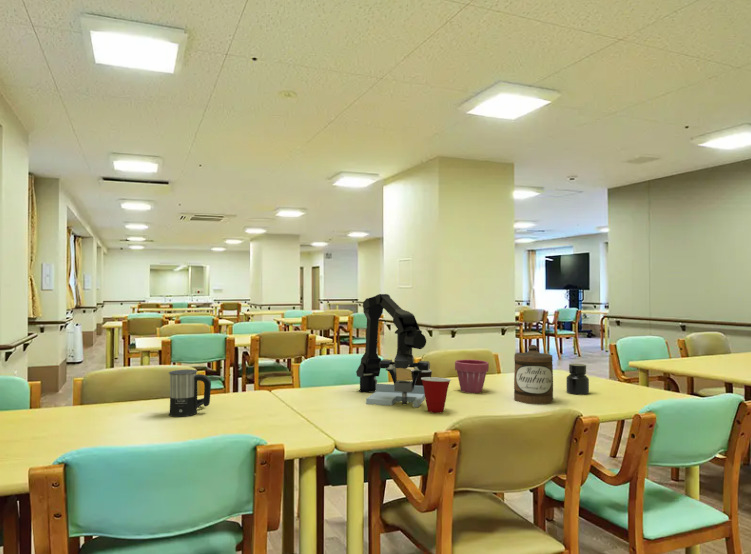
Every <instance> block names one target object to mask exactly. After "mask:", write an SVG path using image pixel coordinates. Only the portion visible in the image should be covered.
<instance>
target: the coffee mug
mask: <svg viewBox="0 0 751 554" xmlns="http://www.w3.org/2000/svg"><path fill="white" fill-rule="evenodd" d="M414 370H415V368H413V369H411V370H410V372H411V374H410V375H411V381H413V371H414ZM432 374H433V371H432V370H431V369H429V370H423V371H422V372H420V373H419V375H418V377H417V380H416V383H415V386H423V382H422V379H421V378H422V377H432Z"/></svg>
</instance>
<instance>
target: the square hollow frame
mask: <svg viewBox="0 0 751 554" xmlns="http://www.w3.org/2000/svg"><path fill="white" fill-rule="evenodd" d="M412 383H413V381H412V380H397V382H395V385H394V391H400V392H412V391H413V390H414V388H413V387H412Z"/></svg>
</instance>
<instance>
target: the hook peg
mask: <svg viewBox="0 0 751 554" xmlns="http://www.w3.org/2000/svg"><path fill="white" fill-rule="evenodd" d="M403 404H406V405H408V402H407V392H402V402H401V405H403Z"/></svg>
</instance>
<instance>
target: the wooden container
mask: <svg viewBox="0 0 751 554" xmlns="http://www.w3.org/2000/svg"><path fill="white" fill-rule="evenodd" d="M538 349H539V348H538V346H537V345H536V344H531V345H529V346H528V351H526V352H517V353H514V357H513V359H514V377H513V380H514V381H513V389H514V392H513V396H514V397H513V399H514V401H516V402H519V403H523V404H529V405H548V404H552V403H553V402H554V367H553V362H554V361H553V355H552V354H550V353H544V352H539V351H538Z"/></svg>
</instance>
